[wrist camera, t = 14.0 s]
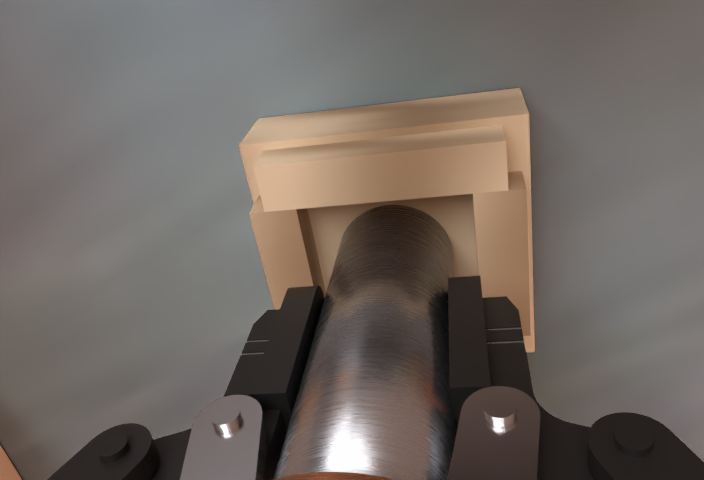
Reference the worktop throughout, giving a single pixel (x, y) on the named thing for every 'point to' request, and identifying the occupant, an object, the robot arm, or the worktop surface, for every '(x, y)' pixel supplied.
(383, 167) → the pin block
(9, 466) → the soap dispenser
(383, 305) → the pin
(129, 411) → the worktop surface
